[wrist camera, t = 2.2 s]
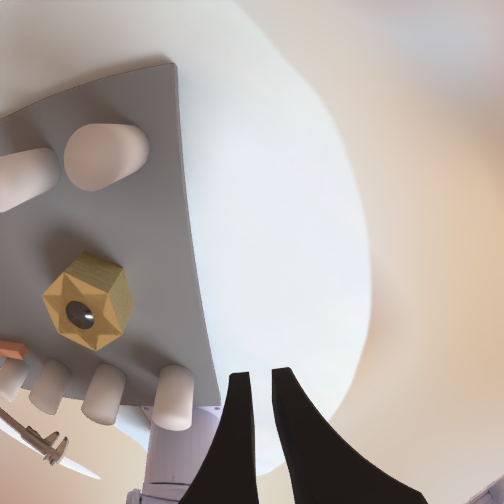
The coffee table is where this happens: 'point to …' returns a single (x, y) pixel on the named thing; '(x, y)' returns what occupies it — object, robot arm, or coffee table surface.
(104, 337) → the brass nut
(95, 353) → the plate
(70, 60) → the coffee table surface
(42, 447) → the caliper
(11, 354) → the parts bay
